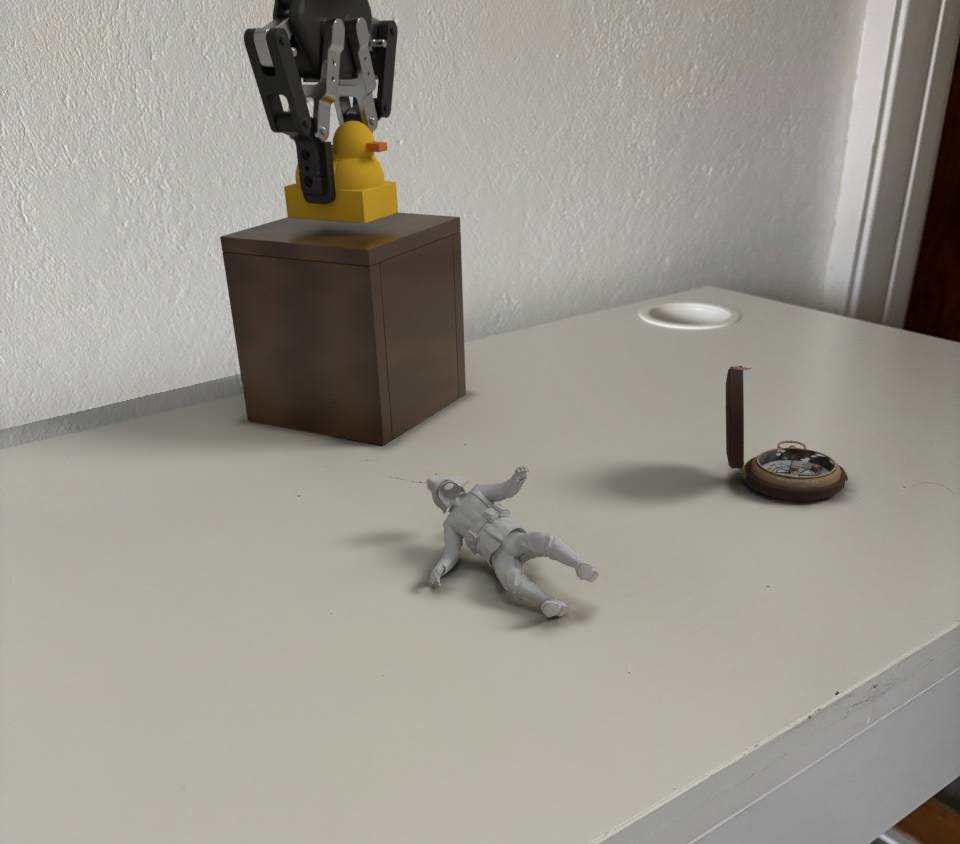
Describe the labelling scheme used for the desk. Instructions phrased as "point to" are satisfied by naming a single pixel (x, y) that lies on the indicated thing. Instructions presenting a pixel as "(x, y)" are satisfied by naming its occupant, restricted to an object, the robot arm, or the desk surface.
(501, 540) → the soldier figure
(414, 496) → the desk surface
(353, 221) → the rubber duck
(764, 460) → the compass
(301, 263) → the brown wooden box
